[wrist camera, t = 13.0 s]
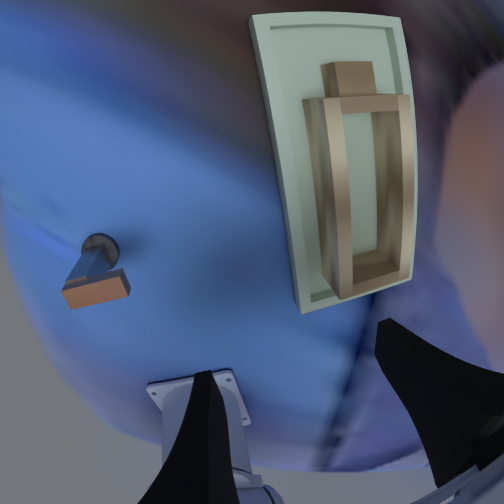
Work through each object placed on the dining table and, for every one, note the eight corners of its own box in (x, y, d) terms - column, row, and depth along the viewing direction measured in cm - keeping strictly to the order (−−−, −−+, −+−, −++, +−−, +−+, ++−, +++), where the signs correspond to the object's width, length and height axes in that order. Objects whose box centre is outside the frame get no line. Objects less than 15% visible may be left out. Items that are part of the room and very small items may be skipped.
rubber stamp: (146, 258, 19) (133, 307, 15) (92, 272, 19) (68, 321, 14) (133, 222, 18) (114, 263, 13) (77, 239, 18) (46, 282, 13)
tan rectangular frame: (386, 256, 22) (408, 277, 19) (322, 274, 22) (339, 300, 19) (375, 64, 15) (405, 60, 13) (296, 67, 15) (316, 60, 12)
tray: (401, 270, 24) (411, 279, 22) (295, 302, 23) (301, 314, 22) (387, 21, 15) (399, 17, 13) (247, 22, 14) (252, 15, 13)
